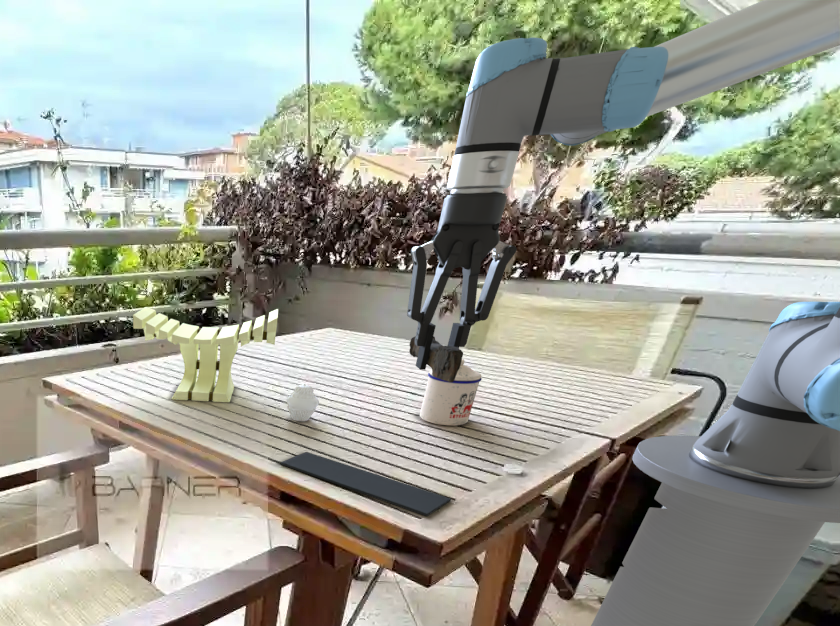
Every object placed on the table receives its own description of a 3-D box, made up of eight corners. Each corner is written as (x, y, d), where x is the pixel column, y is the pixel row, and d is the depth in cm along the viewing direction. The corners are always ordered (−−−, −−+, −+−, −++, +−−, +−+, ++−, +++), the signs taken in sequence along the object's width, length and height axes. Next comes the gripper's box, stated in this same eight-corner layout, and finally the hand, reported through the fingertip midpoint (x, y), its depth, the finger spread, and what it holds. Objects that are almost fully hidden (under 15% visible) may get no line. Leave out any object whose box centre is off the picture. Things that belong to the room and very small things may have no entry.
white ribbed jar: (281, 421, 108) (285, 386, 105) (288, 412, 113) (292, 378, 110) (313, 425, 106) (318, 389, 102) (318, 416, 111) (323, 381, 107)
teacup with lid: (454, 429, 102) (472, 367, 97) (408, 418, 109) (422, 358, 103) (484, 417, 109) (502, 357, 103) (439, 406, 115) (454, 350, 109)
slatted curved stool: (270, 385, 132) (278, 306, 123) (268, 404, 118) (277, 317, 110) (149, 380, 138) (148, 304, 129) (134, 397, 125) (133, 314, 116)
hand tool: (406, 356, 94) (412, 328, 91) (431, 357, 93) (438, 329, 91) (429, 384, 78) (438, 351, 75) (460, 386, 77) (470, 352, 75)
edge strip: (450, 500, 77) (451, 498, 77) (426, 516, 73) (427, 513, 73) (306, 453, 93) (306, 451, 93) (280, 464, 89) (280, 462, 89)
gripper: (419, 192, 72) (383, 372, 83) (556, 189, 69) (500, 375, 81) (405, 194, 78) (374, 361, 90) (530, 191, 76) (481, 363, 87)
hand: (434, 367), depth 85 cm, fingers closed on hand tool, 3 cm apart
